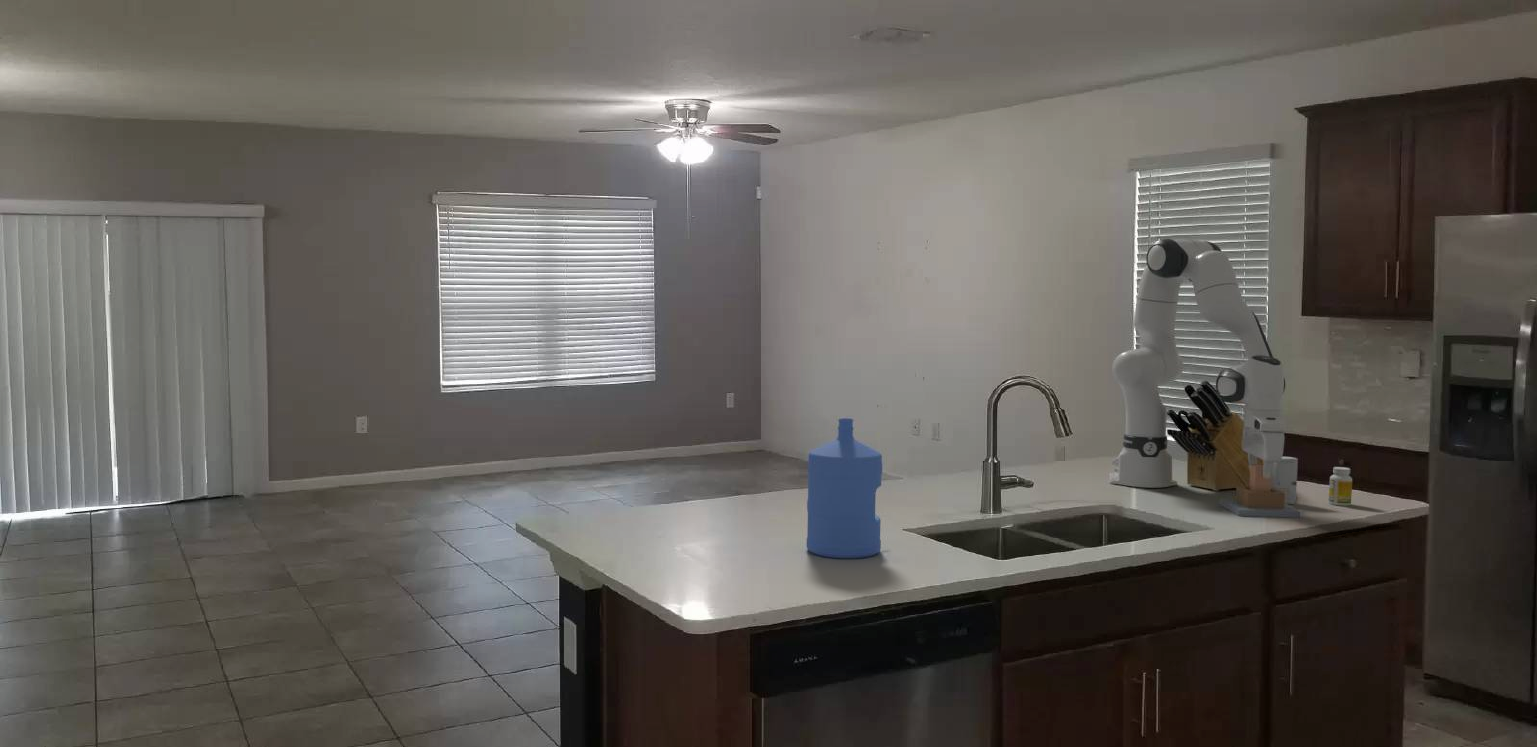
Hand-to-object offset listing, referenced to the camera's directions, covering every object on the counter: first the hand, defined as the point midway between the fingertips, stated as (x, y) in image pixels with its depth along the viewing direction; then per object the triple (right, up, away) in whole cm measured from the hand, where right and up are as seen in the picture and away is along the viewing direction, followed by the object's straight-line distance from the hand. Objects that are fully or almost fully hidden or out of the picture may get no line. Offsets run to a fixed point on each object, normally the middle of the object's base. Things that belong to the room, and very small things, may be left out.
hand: (1259, 474), depth 300 cm
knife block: (+4, -7, +36) cm, 37 cm away
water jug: (-109, -12, -51) cm, 121 cm away
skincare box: (+11, -9, +13) cm, 19 cm away
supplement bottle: (+26, -9, +12) cm, 30 cm away
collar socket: (0, -9, +1) cm, 9 cm away
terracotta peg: (0, -8, 0) cm, 8 cm away
